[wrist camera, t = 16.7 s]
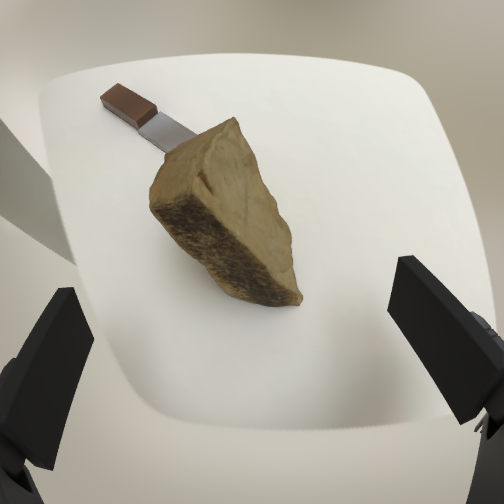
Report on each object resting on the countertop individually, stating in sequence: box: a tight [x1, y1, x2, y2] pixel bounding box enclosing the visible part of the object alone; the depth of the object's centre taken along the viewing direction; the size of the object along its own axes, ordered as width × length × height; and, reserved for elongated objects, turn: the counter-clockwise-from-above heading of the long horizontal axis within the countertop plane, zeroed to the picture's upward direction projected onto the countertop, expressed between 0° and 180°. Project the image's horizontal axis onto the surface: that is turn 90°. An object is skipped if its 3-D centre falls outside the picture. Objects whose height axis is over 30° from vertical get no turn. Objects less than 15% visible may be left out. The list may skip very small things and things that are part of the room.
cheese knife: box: [100, 83, 197, 153], centre depth 21 cm, size 10×2×1 cm, turn 51°
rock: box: [149, 117, 303, 307], centre depth 16 cm, size 11×9×10 cm
